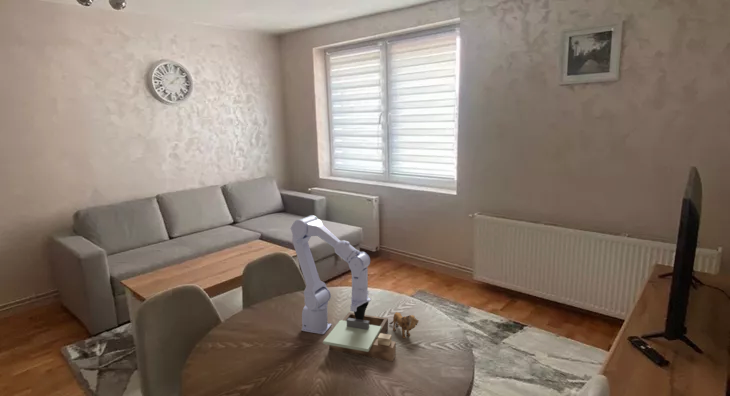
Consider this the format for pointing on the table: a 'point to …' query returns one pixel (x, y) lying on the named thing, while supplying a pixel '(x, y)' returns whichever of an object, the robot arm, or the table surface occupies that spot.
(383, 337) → the wooden key
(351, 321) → the lid
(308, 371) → the table surface
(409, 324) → the lion figurine
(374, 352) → the wooden box
